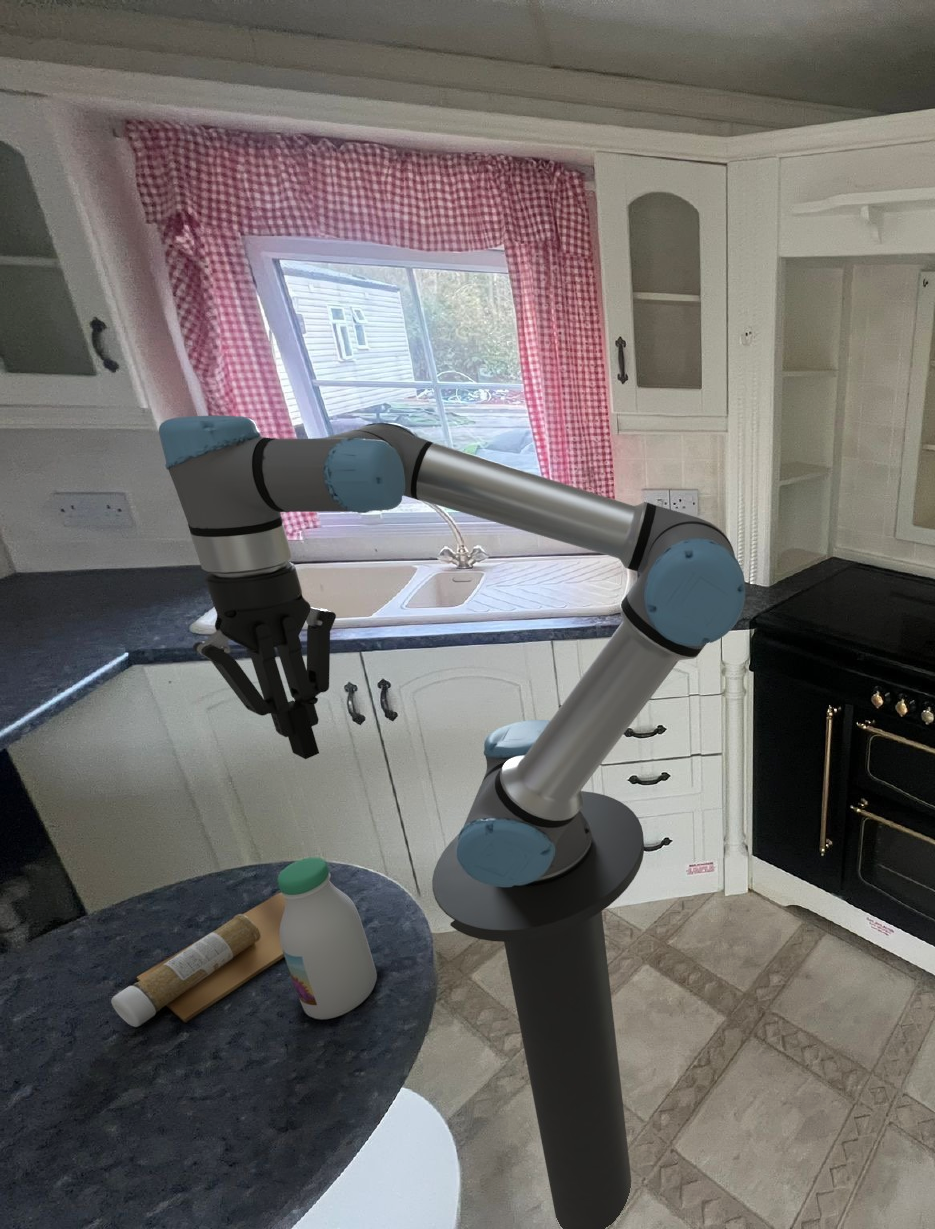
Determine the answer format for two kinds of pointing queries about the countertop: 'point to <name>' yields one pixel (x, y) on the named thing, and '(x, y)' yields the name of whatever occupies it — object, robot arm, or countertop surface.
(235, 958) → the cork mat
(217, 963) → the sprinkles bottle
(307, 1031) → the countertop surface
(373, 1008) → the countertop surface
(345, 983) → the milk bottle
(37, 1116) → the countertop surface
